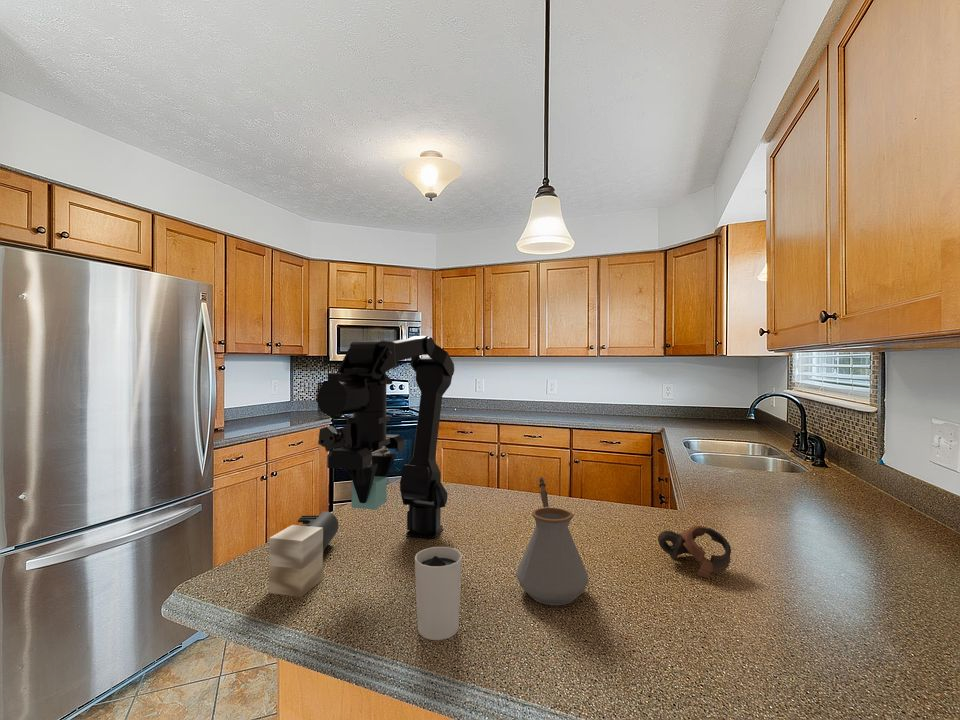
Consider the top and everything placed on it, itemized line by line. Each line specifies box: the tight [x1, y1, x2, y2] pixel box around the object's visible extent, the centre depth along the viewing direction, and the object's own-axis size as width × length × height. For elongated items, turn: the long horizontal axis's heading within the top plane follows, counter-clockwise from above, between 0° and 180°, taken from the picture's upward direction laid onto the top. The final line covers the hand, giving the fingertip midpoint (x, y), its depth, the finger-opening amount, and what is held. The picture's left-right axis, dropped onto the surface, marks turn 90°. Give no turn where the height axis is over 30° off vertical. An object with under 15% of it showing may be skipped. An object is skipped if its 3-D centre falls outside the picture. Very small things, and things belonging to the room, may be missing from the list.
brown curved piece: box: [657, 525, 732, 579], centre depth 81 cm, size 12×10×8 cm
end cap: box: [297, 510, 339, 552], centre depth 87 cm, size 10×7×7 cm
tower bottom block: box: [268, 553, 324, 598], centre depth 75 cm, size 6×6×4 cm
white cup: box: [414, 546, 463, 641], centre depth 63 cm, size 7×7×10 cm
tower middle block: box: [268, 524, 324, 569], centre depth 75 cm, size 6×6×4 cm
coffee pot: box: [516, 476, 589, 606], centre depth 77 cm, size 21×12×15 cm, turn 179°
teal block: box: [351, 476, 388, 511], centre depth 79 cm, size 4×4×4 cm
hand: (369, 498), depth 79 cm, fingers closed on teal block, 4 cm apart
